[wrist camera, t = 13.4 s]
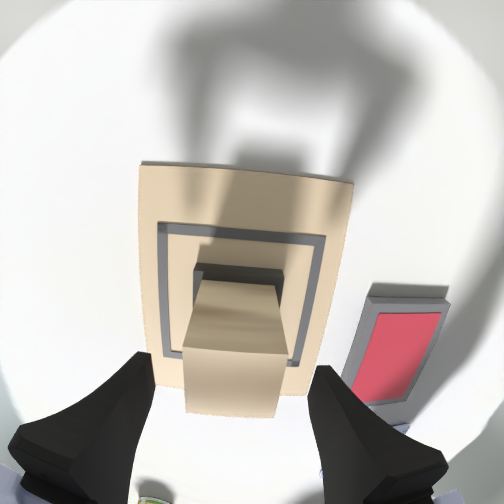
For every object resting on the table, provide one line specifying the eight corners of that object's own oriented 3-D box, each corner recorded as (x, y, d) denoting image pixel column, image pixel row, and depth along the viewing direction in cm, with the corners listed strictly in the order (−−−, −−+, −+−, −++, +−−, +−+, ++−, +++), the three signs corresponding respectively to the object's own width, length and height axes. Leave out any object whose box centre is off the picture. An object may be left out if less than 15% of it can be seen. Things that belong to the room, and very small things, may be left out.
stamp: (271, 338, 19) (282, 424, 12) (195, 332, 19) (176, 417, 12) (282, 269, 17) (304, 344, 11) (196, 262, 17) (168, 334, 10)
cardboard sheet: (305, 393, 21) (305, 396, 21) (152, 382, 21) (151, 385, 20) (352, 183, 16) (354, 184, 16) (140, 165, 15) (138, 165, 15)
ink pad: (401, 393, 22) (405, 401, 21) (331, 400, 22) (334, 409, 21) (443, 298, 19) (451, 304, 18) (367, 296, 18) (372, 304, 17)
